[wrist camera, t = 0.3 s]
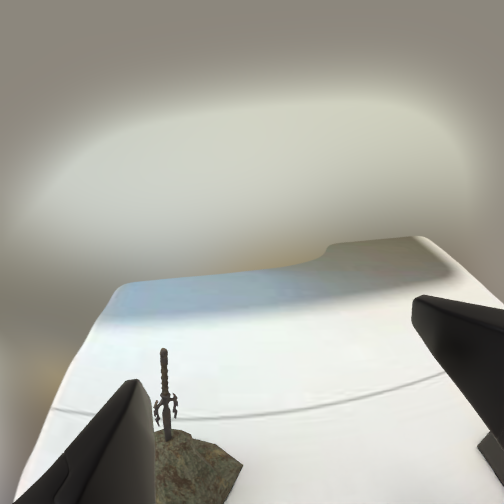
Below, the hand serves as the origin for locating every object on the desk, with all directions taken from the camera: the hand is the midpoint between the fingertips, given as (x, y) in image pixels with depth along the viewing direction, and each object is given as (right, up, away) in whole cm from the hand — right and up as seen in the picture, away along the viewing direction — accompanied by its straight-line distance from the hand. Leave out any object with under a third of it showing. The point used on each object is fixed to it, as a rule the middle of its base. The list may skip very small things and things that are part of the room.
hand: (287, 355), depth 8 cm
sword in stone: (-7, -15, +8) cm, 18 cm away
